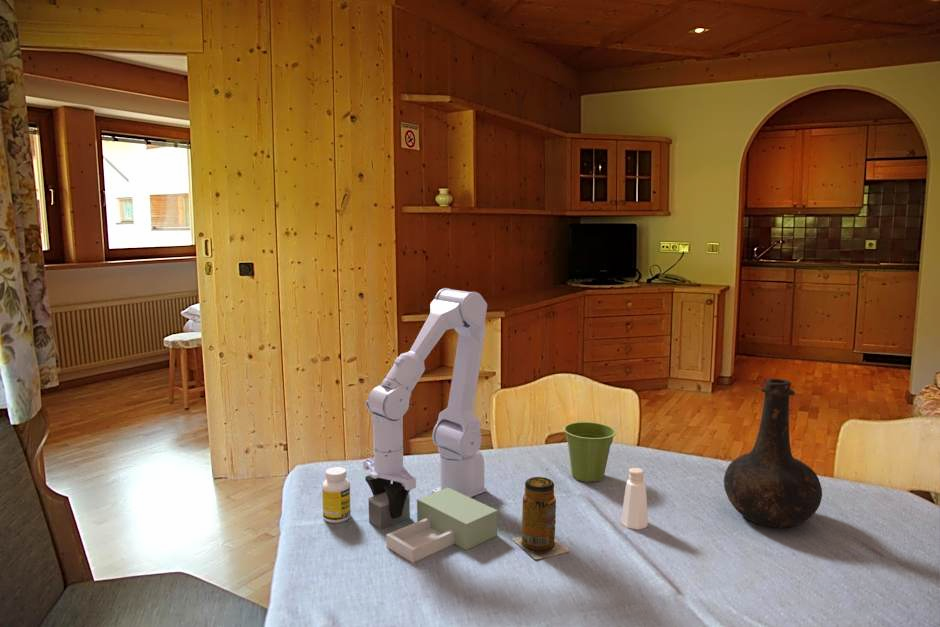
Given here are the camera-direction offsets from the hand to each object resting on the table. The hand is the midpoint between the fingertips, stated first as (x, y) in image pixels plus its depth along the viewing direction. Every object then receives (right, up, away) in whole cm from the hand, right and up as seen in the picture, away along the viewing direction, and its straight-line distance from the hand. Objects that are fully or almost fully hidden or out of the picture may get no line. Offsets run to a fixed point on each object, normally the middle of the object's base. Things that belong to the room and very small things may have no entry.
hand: (389, 512), depth 132 cm
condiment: (+29, -3, -10) cm, 30 cm away
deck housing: (+10, -3, -7) cm, 12 cm away
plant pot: (+43, +2, +21) cm, 48 cm away
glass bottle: (+76, -2, +2) cm, 76 cm away
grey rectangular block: (0, -1, 0) cm, 1 cm away
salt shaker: (+48, -2, -1) cm, 48 cm away
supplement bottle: (-11, -1, +1) cm, 11 cm away
